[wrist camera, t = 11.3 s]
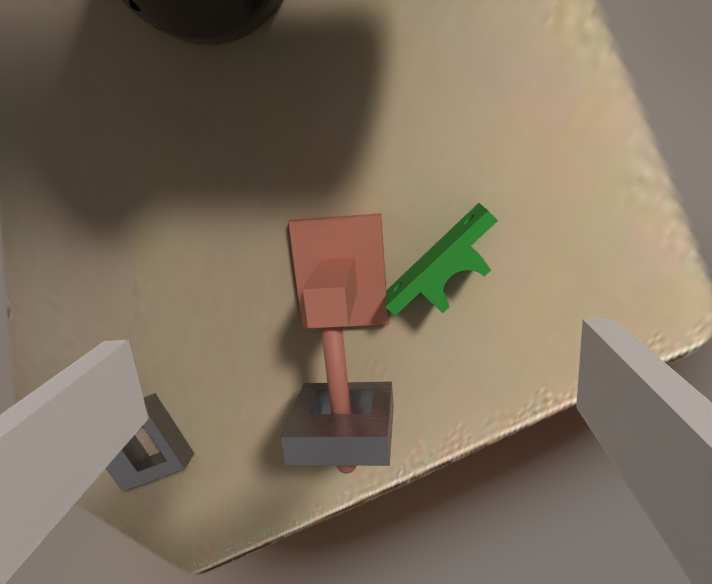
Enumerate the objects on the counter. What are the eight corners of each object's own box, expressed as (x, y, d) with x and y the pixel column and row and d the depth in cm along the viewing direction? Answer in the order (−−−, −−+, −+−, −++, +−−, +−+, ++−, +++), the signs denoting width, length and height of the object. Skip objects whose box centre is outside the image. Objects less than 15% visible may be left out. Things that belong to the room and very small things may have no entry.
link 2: (303, 383, 42) (280, 437, 35) (391, 381, 41) (387, 437, 34) (306, 407, 43) (285, 465, 36) (393, 406, 42) (389, 465, 35)
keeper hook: (290, 220, 42) (261, 243, 33) (381, 213, 41) (376, 236, 32) (316, 418, 48) (297, 483, 39) (394, 416, 47) (394, 482, 38)
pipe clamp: (414, 316, 44) (416, 337, 39) (386, 289, 43) (384, 307, 39) (508, 232, 40) (521, 244, 36) (478, 201, 40) (488, 210, 36)
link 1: (94, 417, 50) (79, 431, 48) (155, 393, 49) (142, 406, 46) (134, 475, 52) (122, 491, 50) (194, 453, 51) (184, 469, 48)
